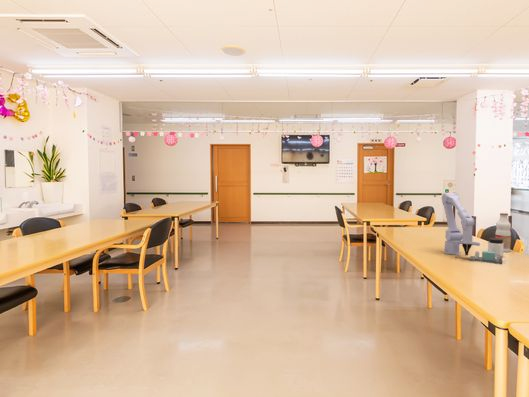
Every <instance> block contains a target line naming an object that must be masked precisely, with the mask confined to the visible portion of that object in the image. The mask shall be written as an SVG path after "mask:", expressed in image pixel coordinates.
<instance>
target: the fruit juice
mask: <svg viewBox="0 0 529 397" xmlns="http://www.w3.org/2000/svg"><path fill="white" fill-rule="evenodd" d="M508 216H509V214H508V213H507V212H500V213H499V220H498V221H497V222H496V224H495V227H496V230H495V236H494V238H500V239H503V243H504V246H503V253H510V251H511V242H512V241H511V240H512V237H511V236H512V233H511V232H512V231H511V227H512V224H511V222H510V221H509V218H508Z"/></svg>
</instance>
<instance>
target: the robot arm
mask: <svg viewBox="0 0 529 397" xmlns="http://www.w3.org/2000/svg"><path fill="white" fill-rule="evenodd" d="M441 202H442V205H443V208H444V213H445V219H446V222H447V229H446V230H445V239H446V240H444V254H445V255H453V256H454V255H456V256H460V254H461V252H460V245H461V246H462V248H463V251H464V253H465V254H464V255H465V256H469V253H470V250H471V248H472V246H477V247H480V246H481V244H480V242H479V241H478V242H477V241H473V230H474V229H473V226H475V224H476V221H475V219H474V217H472V216H470V215H469V213H468V211H467V210H466V209H464V208H463V205H462V204H461V202H460V196H459V194H458V193H457V192H450V193H449V192H448V193H447V192H444V193H442V195H441ZM453 206H454V207H455V209H456V211H457V215H458V217H459V219H460V220H461V221H460V224H461V229H462V231H461V229H460V228H458V227H457V223H456V218H455V214H454V208H453Z"/></svg>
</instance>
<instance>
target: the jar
mask: <svg viewBox="0 0 529 397" xmlns="http://www.w3.org/2000/svg"><path fill="white" fill-rule="evenodd" d="M503 246H504V243H503V239H500V238H495V237H489V239H488V242H487V251H490V252H495V258H497V254H501V256H502V258H503V257H504V252H503Z"/></svg>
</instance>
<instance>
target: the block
mask: <svg viewBox="0 0 529 397" xmlns="http://www.w3.org/2000/svg"><path fill="white" fill-rule="evenodd" d="M481 257H482V260H491V261H495V259H496V257H495V252H490V251H488V250H482V253H481Z"/></svg>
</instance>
